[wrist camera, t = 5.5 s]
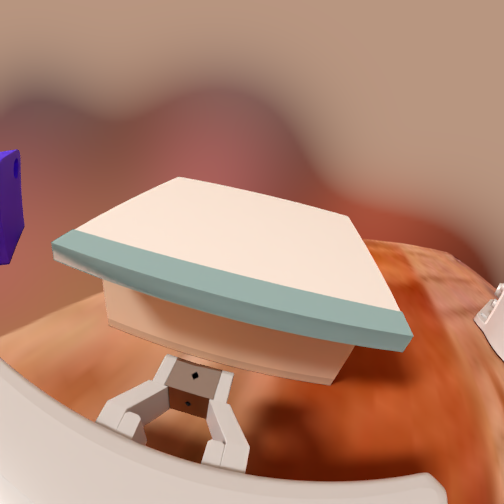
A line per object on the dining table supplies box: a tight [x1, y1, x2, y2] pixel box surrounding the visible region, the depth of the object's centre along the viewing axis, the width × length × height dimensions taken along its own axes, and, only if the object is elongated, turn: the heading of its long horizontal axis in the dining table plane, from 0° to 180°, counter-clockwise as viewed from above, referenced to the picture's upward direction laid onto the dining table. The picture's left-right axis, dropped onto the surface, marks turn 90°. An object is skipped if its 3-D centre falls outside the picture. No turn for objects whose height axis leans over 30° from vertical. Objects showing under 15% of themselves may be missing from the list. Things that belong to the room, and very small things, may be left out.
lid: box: [51, 177, 413, 352], centre depth 20 cm, size 19×19×1 cm
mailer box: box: [103, 279, 355, 385], centre depth 24 cm, size 15×18×8 cm
